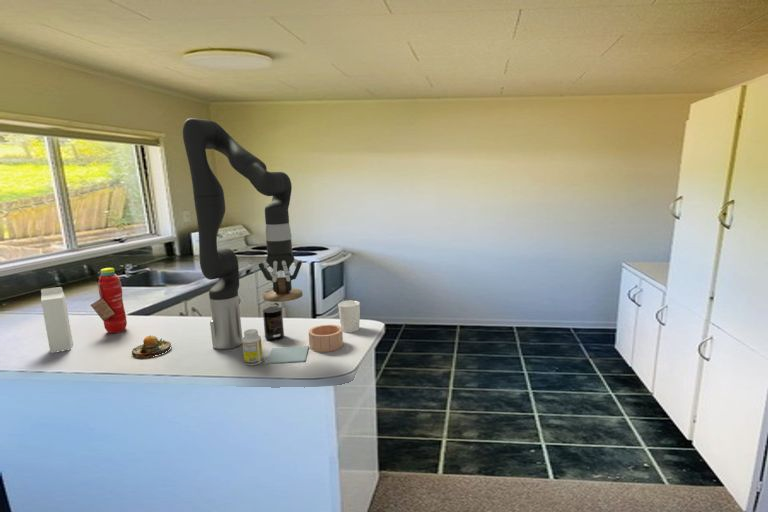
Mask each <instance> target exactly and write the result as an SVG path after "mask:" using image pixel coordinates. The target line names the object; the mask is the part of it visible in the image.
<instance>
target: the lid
mask: <svg viewBox="0 0 768 512" xmlns="http://www.w3.org/2000/svg"><path fill="white" fill-rule="evenodd" d="M286 281H287V280H286V276H278V278H277V283H278V294H276V292H274V291H273V289H272V290H269V291H266V292H265V293H263V295H262V297H263V300H264V301H267V302H271V303H281V302H283V303H284V302H291V301H295V300H298V299H300V298H302V297H303V291H302V290H301V289H299V288H292V289H291V291H290V292H289V293H287V290H286Z"/></svg>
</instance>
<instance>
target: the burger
mask: <svg viewBox="0 0 768 512" xmlns="http://www.w3.org/2000/svg"><path fill="white" fill-rule="evenodd" d="M170 347H171V348H172V343H171V342H170V341H167V340H164V339H163V338H160V339H158V337H157V336H155V335H148V336H146V337H144V339H143V344H140V345H138V346H136V347H134V348H133V349H132V350H131V355H133V356H132V357H133V358H134V357H135V359H137V358H142V359H143V358H144V359H147V357H148V358H151V357H152V358H154V357H153V356H155V355H159V354H162V353H165V352H166V351H168V350H169V349H170ZM165 354H166V353H165Z"/></svg>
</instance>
